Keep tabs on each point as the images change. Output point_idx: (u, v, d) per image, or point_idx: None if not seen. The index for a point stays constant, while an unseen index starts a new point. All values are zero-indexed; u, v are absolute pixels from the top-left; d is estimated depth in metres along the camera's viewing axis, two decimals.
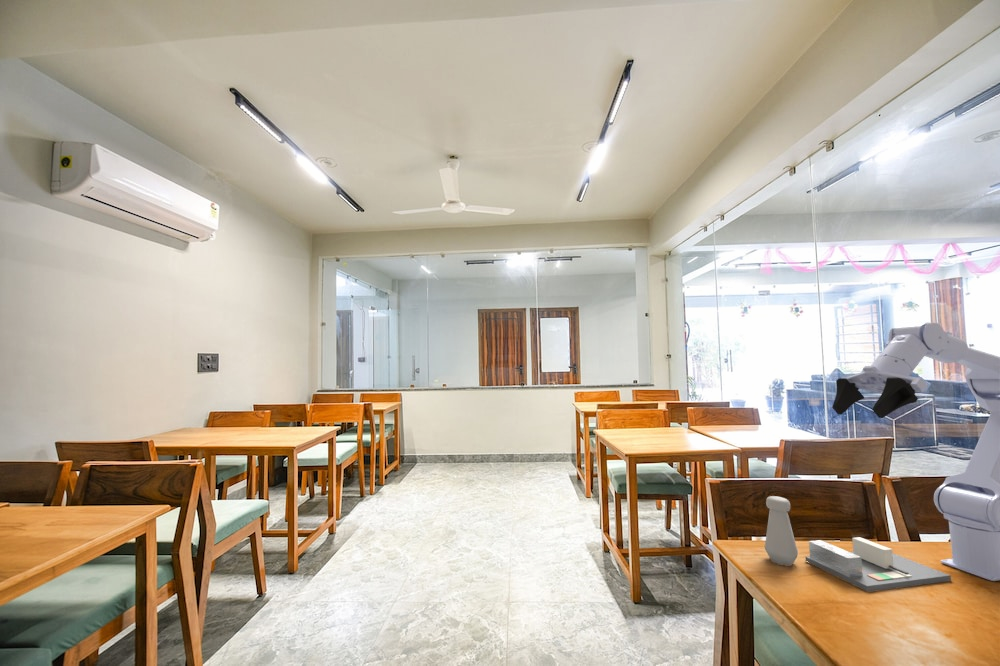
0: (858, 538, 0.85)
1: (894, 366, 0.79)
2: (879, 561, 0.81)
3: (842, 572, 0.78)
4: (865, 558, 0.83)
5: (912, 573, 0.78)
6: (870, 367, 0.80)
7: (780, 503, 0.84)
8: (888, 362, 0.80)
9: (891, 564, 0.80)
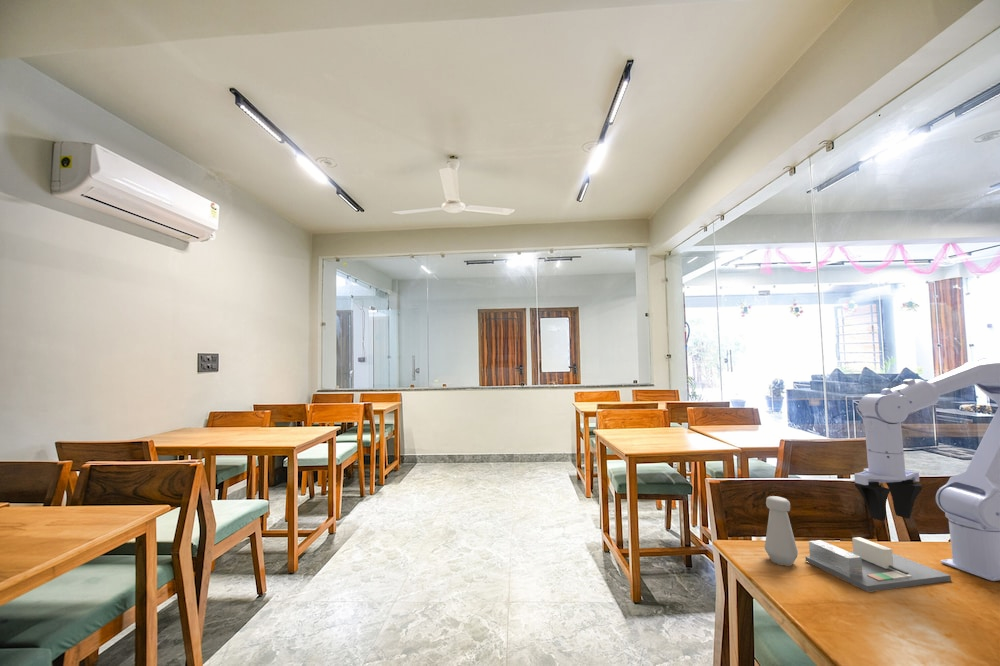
0: (858, 538, 0.85)
1: (868, 460, 0.87)
2: (879, 561, 0.81)
3: (842, 572, 0.78)
4: (865, 558, 0.83)
5: (912, 573, 0.78)
6: None
7: (780, 503, 0.84)
8: None
9: (891, 564, 0.80)
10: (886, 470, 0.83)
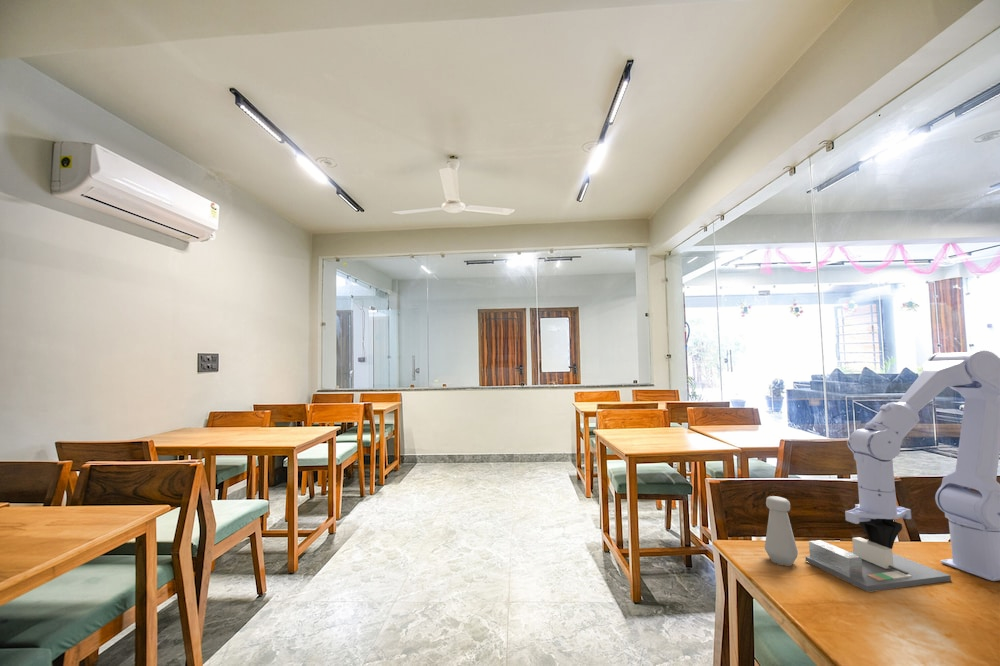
0: (858, 538, 0.85)
1: (859, 496, 0.86)
2: (879, 561, 0.81)
3: (842, 572, 0.78)
4: (865, 558, 0.83)
5: (912, 573, 0.78)
6: None
7: (780, 503, 0.84)
8: None
9: (891, 564, 0.80)
10: (877, 508, 0.82)
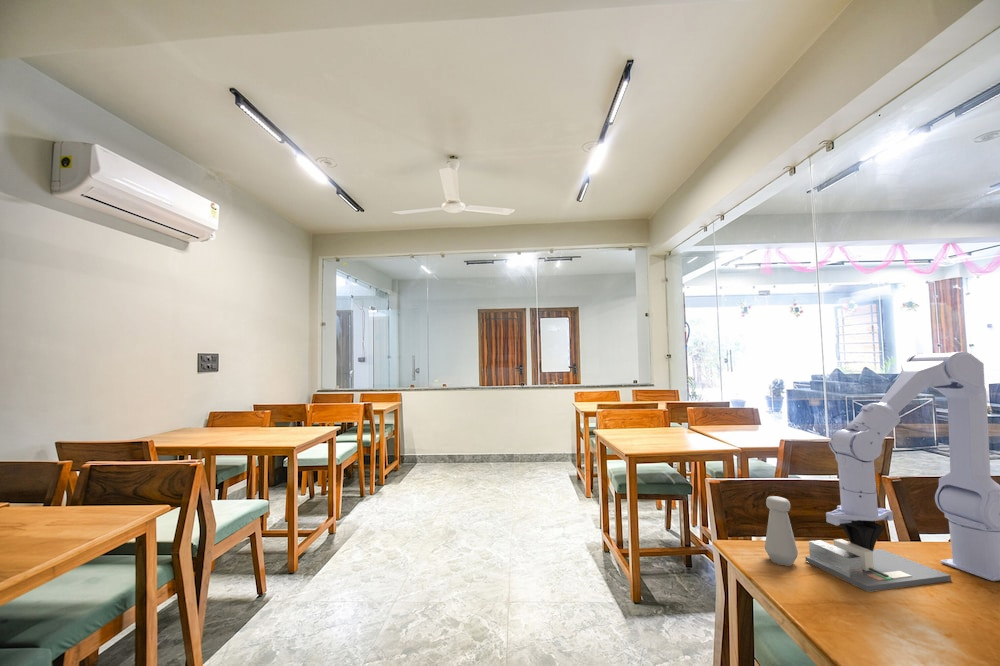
0: (839, 540, 0.84)
1: (840, 497, 0.85)
2: None
3: (842, 572, 0.78)
4: None
5: (912, 573, 0.78)
6: None
7: (780, 503, 0.84)
8: None
9: (871, 566, 0.79)
10: (858, 509, 0.81)
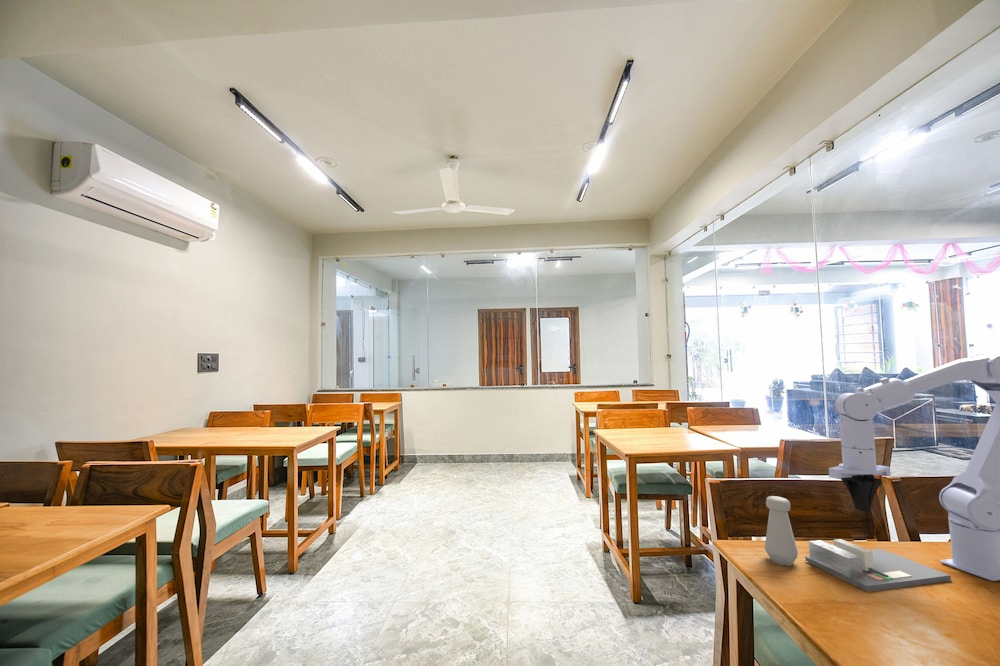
0: (839, 540, 0.84)
1: (842, 455, 0.92)
2: None
3: (842, 572, 0.78)
4: None
5: (912, 573, 0.78)
6: None
7: (780, 503, 0.84)
8: None
9: (871, 566, 0.79)
10: (858, 464, 0.88)
